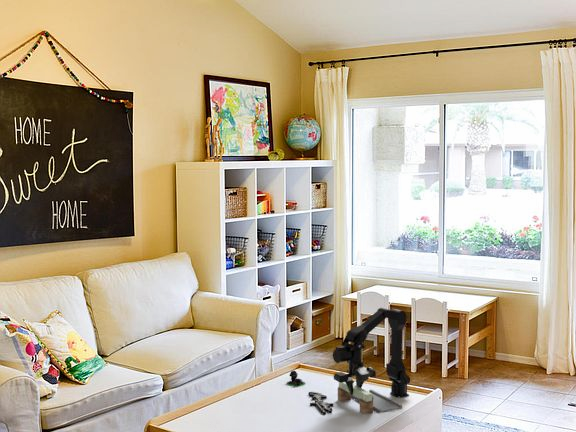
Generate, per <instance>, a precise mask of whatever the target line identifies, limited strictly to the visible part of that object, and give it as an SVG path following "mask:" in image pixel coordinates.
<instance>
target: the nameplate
mask: <svg viewBox="0 0 576 432" xmlns="http://www.w3.org/2000/svg"><path fill="white" fill-rule="evenodd" d="M308 396H309V397H310V398H311V401H314V402H310V403H309V407H316V408H317V410H318V411H319V413H321V414H322V416H323V415H324V416H325V415H327V413H328V414H332V413H333V408H332V407H334V403H332V402H325V401H324V400H326V399H327V398H328V397H327V395H324V394H322V393H319V392H316V391H308Z"/></svg>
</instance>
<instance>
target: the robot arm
mask: <svg viewBox="0 0 576 432" xmlns="http://www.w3.org/2000/svg"><path fill="white" fill-rule="evenodd" d="M407 317H408V316H407V313H406V312H405V311H404V310H400V309H396V308H391V309H387V308H384V307H379V308H377V310H376V311H375V312H374V313H373V314H372V315H371V316H370V317H369V318H367V319H366V320H365V321H364V322H363V323H362V324H360V325H358V326H354V327H352V328H351V329H349V330H348V331H347V332H346V335H345V337H344V339H343V341H342V343H341V346H335V349H334V350H333V352H332V359H333V361H334V363H336V364H339V363H346V364H348V369H346V373H344V372H343V371H341V372H335V373H334V374H333V380H334V381H336V382H338V383H339V382H340V383H342V382H345V383H346V385H347V387H348V389H349V391H350V394H351V395H353V384H354V383H355V385H356V386H358V387H360V388H362V387H363V385H364V383H365V382H366V381H368V380H369V378H376V377H377V372H376V370H375V369H374V368H373V367H371V366H369V367H365V363H364V361H362V360H363V359H362V358H363V355H362V353H363V352H362V351H363V350H362V349H366V345H365V344H364V342H366V340H367V338H368V336H369V334H370V332H372V331H373V330H374V329H376V327H378V325H380V324H381V323H382V322H384V321H385V320H386V319H387V323H388V324H389V327H390V329H391V330H390V331H391V332H390V334H391V337H390V338H391V342H390V344H391V345H390V347H391V349H390V361H389V363H386V365H385V366H386V370H385V373H386V375H387V376H388V379H389V381H391V387H390V388H391V389H390V390H391V391H390V392H389V394H390V395H392V396H393V397H396V398H399V399H400V398H403V397H409V396H410V394H409V393H408V384H410V382H411V377H410V376H409V375H408V374H407V372H406V366H405V363H404V362H403V361H404V360H403V329H404V328H405V326H406V324H407ZM353 378H355V380H354V379H353ZM362 389H363V388H362Z"/></svg>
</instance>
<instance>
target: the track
mask: <svg viewBox="0 0 576 432" xmlns="http://www.w3.org/2000/svg"><path fill="white" fill-rule="evenodd" d="M368 392H370V393H372V396H373V411H375V412H377V413H379V414H380V413H386V412H390V411H395V410H400V409H403V404H401V403H399V402H397V401H395V400H394V399H391V398H389V397H387V396H385V395H383V394H381V393H380V392H378V391H375V390H374V389H372V388H371V389H369V391H368ZM351 399H354V401H357V402H358V403H360V398H358V397H356V396H354V395H351Z"/></svg>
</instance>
